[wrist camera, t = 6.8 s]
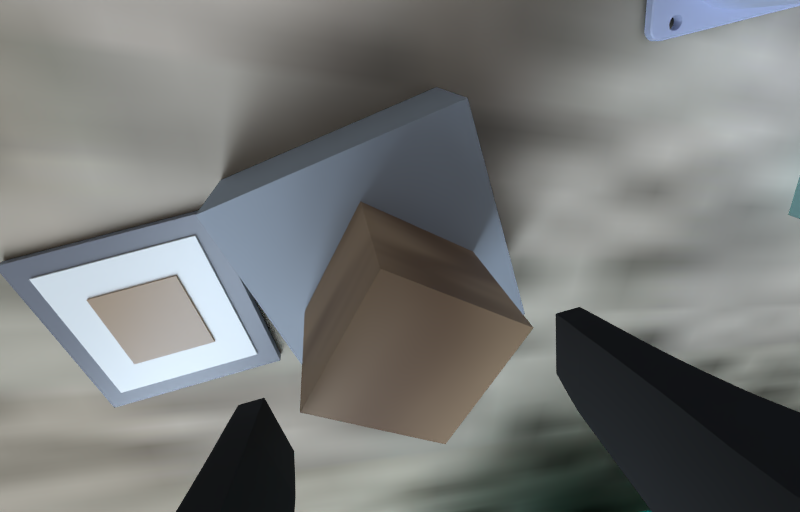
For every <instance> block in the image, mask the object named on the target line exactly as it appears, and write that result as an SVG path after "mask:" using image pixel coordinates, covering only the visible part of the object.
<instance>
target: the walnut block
mask: <svg viewBox="0 0 800 512" xmlns="http://www.w3.org/2000/svg"><path fill="white" fill-rule="evenodd" d="M532 329H533V327H532V325H531V324H530V323H529V322H528V320H527V319H526V318H525V317H524V315H523V314H522V313H521V311H520V310H519V309H518V308H517V306H516V305H515V304H514V303H513V301H512V300H511V299H510V298H509V296H508V295H507V294H506V293H505V291H504V290H503V289H502V287H501V286H500V285H499V284H498V282H497V281H496V280H495V279H494V277H493V276H492V275H491V274H490V272H489V271H488V270H487V268H486V267H485V266H484V265H483V263H482V262H481V261H480V260H479V258H478V257H477V256H476V255H475V253H474V252H473V251H470V250H468V249H466V248H464V247H462V246H459V245H457V244H455V243H453V242H450V241H448V240H446V239H444V238H441V237H439V236H437V235H435V234H432V233H430V232H428V231H426V230H423V229H421V228H419V227H417V226H415V225H412V224H410V223H408V222H406V221H403V220H401V219H399V218H397V217H394V216H392V215H390V214H388V213H385V212H383V211H381V210H379V209H376V208H374V207H372V206H370V205H367V204H365V203H363V202H361V201H360V203H359V205H358V207H357V209H356V211H355V213H354V215H353V217H352V219H351V221H350V223H349V225H348V227H347V229H346V231H345V233H344V235H343V237H342V239H341V240H340V242H339V244H338V246H337V248H336V250H335V252H334V254H333V256H332V258H331V260H330V262H329V264H328V266H327V268H326V270H325V272H324V274H323V276H322V278H321V280H320V282H319V284H318V286H317V288H316V290H315V292H314V294H313V296H312V298H311V300H310V302H309V304H308V306H307V308H306V310H305V314H304V336H303V358H302V380H301V401H300V412H301V413H305V414H310V415H314V416H319V417H324V418H328V419H333V420H337V421H342V422H346V423H351V424H356V425H360V426H365V427H369V428H374V429H378V430H383V431H387V432H392V433H397V434H401V435H406V436H410V437H415V438H419V439H424V440H429V441H433V442H438V443H442V444H446V443H447V441H448V440H449V439H450V437H451V436H452V435H453V433H454V432H455V431H456V429H457V428H458V427H459V426H460V424H461V423H462V422H463V420H464V419H465V418H466V416H467V415H468V414H469V412H470V411H471V410H472V408H473V407H474V406H475V404H476V403H477V402H478V400H479V399H480V398H481V396H482V395H483V394H484V393H485V391H486V390H487V389H488V387H489V386H490V385H491V383H492V382H493V381H494V379H495V378H496V377H497V375H498V374H499V373H500V371H501V370H502V369H503V367H504V366H505V365H506V363H507V362H508V361H509V359H510V358H511V357H512V356H513V354H514V353H515V352H516V350H517V349H518V348H519V346H520V345H521V344H522V342H523V341H524V340H525V338H526V337H527V336H528V334H529V333H530V332H531V330H532Z"/></svg>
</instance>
